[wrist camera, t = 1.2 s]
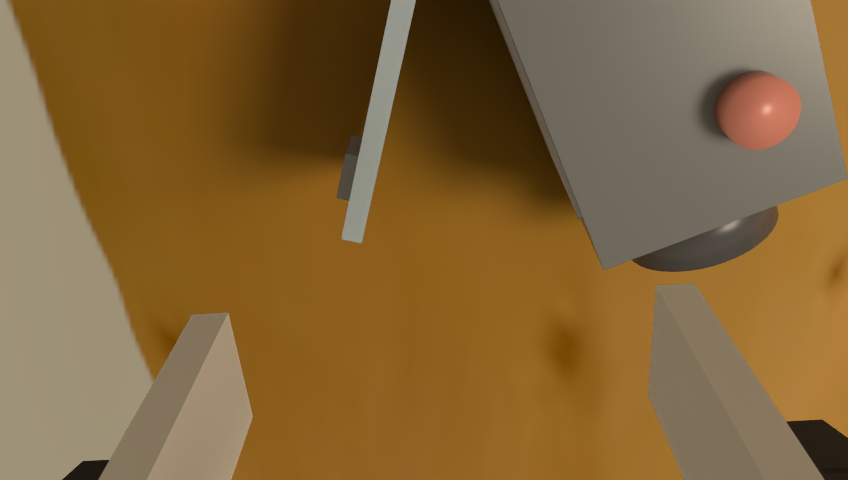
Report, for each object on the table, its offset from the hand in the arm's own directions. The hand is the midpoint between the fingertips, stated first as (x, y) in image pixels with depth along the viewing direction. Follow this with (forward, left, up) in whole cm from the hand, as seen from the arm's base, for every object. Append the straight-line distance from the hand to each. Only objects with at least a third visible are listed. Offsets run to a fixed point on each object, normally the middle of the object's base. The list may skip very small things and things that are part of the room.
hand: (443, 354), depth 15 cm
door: (-4, -1, -20) cm, 20 cm away
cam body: (0, +8, -21) cm, 23 cm away
